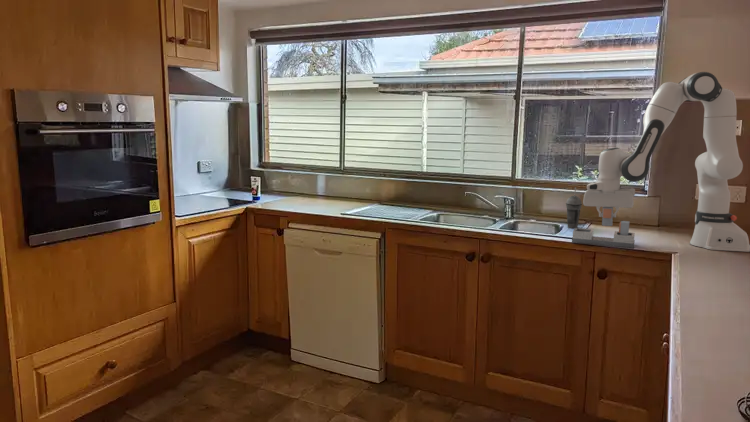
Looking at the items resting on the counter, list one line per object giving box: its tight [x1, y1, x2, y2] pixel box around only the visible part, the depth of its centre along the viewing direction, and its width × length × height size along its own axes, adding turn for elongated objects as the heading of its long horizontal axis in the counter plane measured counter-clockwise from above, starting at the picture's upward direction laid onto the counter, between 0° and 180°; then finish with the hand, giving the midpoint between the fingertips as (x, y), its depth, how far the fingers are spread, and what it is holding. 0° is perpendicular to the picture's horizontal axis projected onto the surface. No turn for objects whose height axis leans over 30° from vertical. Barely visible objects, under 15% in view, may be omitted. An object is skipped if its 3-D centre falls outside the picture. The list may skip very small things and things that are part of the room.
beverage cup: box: [565, 187, 583, 229], centre depth 261 cm, size 7×7×20 cm
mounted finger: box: [618, 220, 630, 235], centre depth 223 cm, size 4×4×8 cm
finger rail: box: [571, 227, 636, 249], centre depth 227 cm, size 24×8×5 cm, turn 63°
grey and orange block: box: [601, 207, 614, 227], centre depth 234 cm, size 4×4×8 cm
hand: (607, 216), depth 234 cm, fingers closed on grey and orange block, 4 cm apart
